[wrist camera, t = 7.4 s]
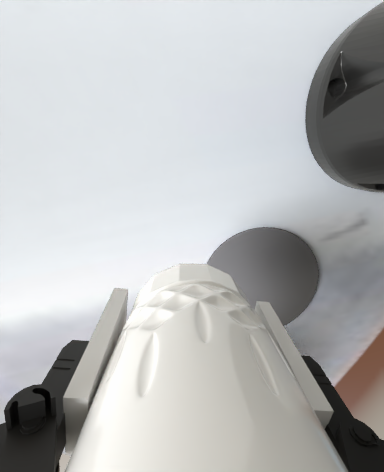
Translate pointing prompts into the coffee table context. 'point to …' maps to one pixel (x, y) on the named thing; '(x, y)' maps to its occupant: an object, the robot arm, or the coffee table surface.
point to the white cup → (199, 389)
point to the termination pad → (270, 269)
